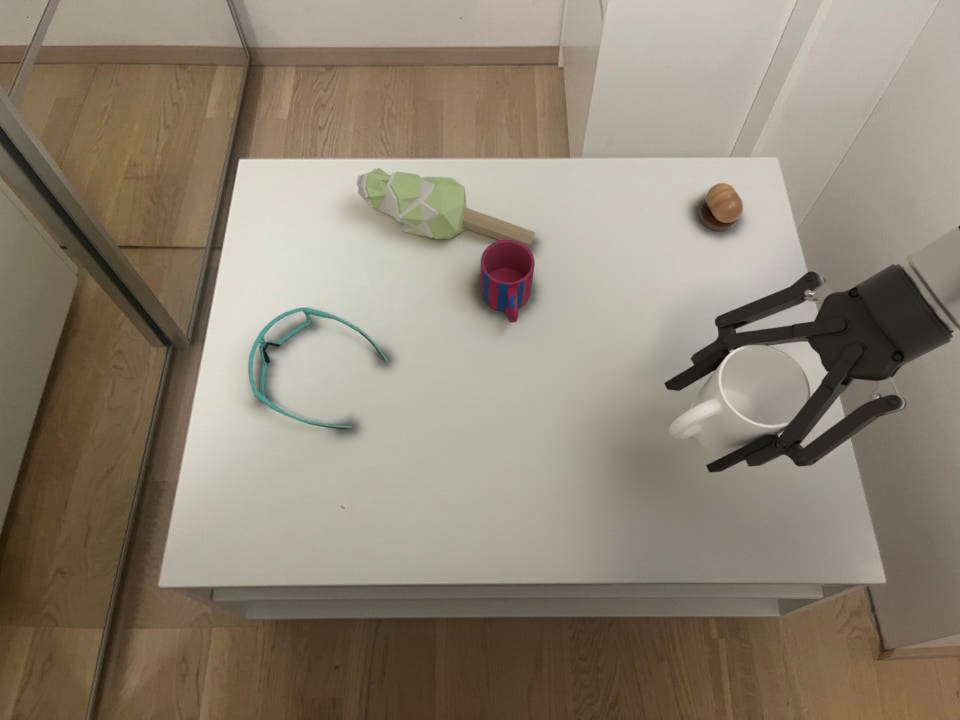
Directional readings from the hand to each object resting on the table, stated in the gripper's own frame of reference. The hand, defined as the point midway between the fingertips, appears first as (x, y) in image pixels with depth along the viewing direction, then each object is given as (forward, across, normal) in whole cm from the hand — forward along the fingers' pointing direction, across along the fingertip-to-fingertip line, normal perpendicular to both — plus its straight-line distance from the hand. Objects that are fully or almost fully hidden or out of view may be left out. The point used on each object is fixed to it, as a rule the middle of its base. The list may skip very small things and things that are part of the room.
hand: (692, 426), depth 66 cm
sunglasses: (+35, +25, +15) cm, 45 cm away
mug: (0, 0, -5) cm, 5 cm away
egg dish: (-7, +30, -27) cm, 41 cm away
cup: (+17, +27, -4) cm, 32 cm away
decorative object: (+19, +41, -1) cm, 46 cm away
